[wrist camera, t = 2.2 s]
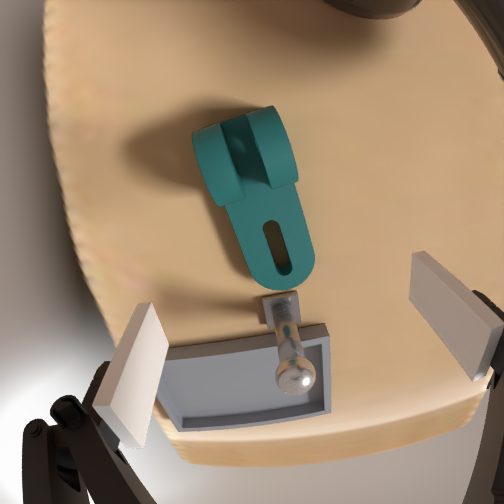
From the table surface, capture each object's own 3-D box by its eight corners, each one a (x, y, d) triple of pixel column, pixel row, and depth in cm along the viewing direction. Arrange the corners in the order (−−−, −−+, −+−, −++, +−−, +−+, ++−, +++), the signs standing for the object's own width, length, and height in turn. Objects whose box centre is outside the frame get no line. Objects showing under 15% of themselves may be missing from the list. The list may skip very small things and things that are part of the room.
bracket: (200, 131, 28) (186, 133, 21) (267, 108, 27) (276, 102, 20) (259, 287, 35) (263, 330, 28) (316, 269, 34) (334, 308, 27)
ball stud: (261, 297, 35) (271, 379, 23) (296, 290, 35) (320, 370, 23) (267, 324, 37) (277, 407, 25) (300, 318, 36) (322, 399, 25)
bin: (142, 350, 38) (137, 362, 36) (324, 323, 37) (329, 335, 35) (180, 420, 44) (178, 431, 42) (327, 400, 43) (331, 412, 41)
